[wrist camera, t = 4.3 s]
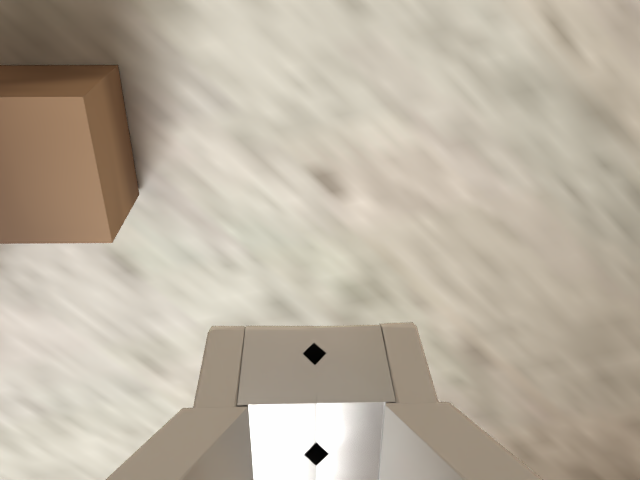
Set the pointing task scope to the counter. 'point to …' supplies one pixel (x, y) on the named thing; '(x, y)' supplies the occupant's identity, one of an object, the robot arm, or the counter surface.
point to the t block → (64, 154)
